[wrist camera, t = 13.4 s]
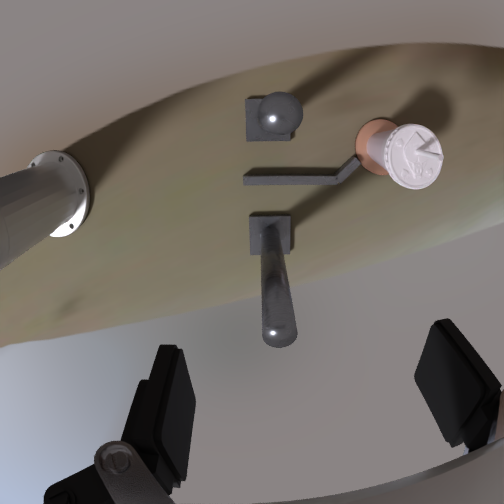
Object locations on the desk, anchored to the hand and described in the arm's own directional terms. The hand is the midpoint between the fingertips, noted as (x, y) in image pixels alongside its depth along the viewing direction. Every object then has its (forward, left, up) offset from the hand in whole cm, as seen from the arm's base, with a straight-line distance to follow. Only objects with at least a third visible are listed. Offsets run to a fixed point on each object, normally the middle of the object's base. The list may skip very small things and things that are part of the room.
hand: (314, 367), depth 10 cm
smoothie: (+13, +6, -28) cm, 32 cm away
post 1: (-1, +9, -29) cm, 30 cm away
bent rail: (+3, +3, -29) cm, 29 cm away
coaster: (+13, +6, -29) cm, 32 cm away
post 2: (-1, -6, -29) cm, 29 cm away
